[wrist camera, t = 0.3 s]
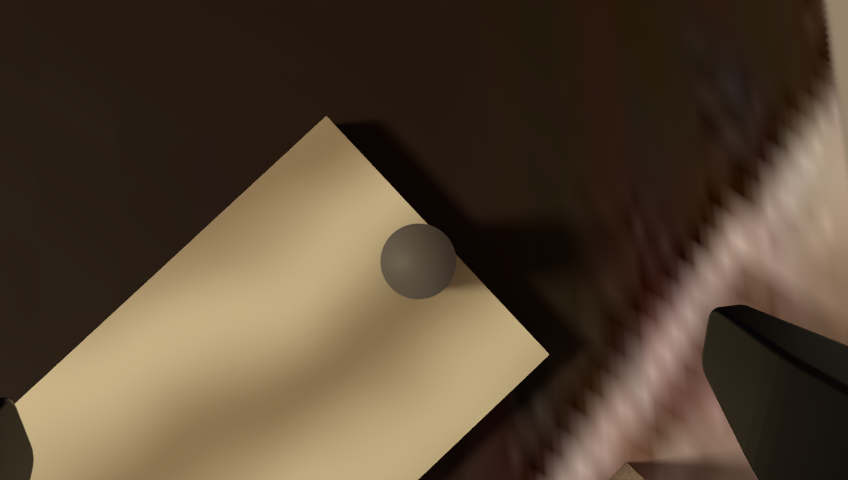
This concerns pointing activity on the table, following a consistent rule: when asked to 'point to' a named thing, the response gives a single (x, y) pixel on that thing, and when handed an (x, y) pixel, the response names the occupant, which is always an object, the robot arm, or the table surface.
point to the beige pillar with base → (626, 474)
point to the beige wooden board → (287, 344)
